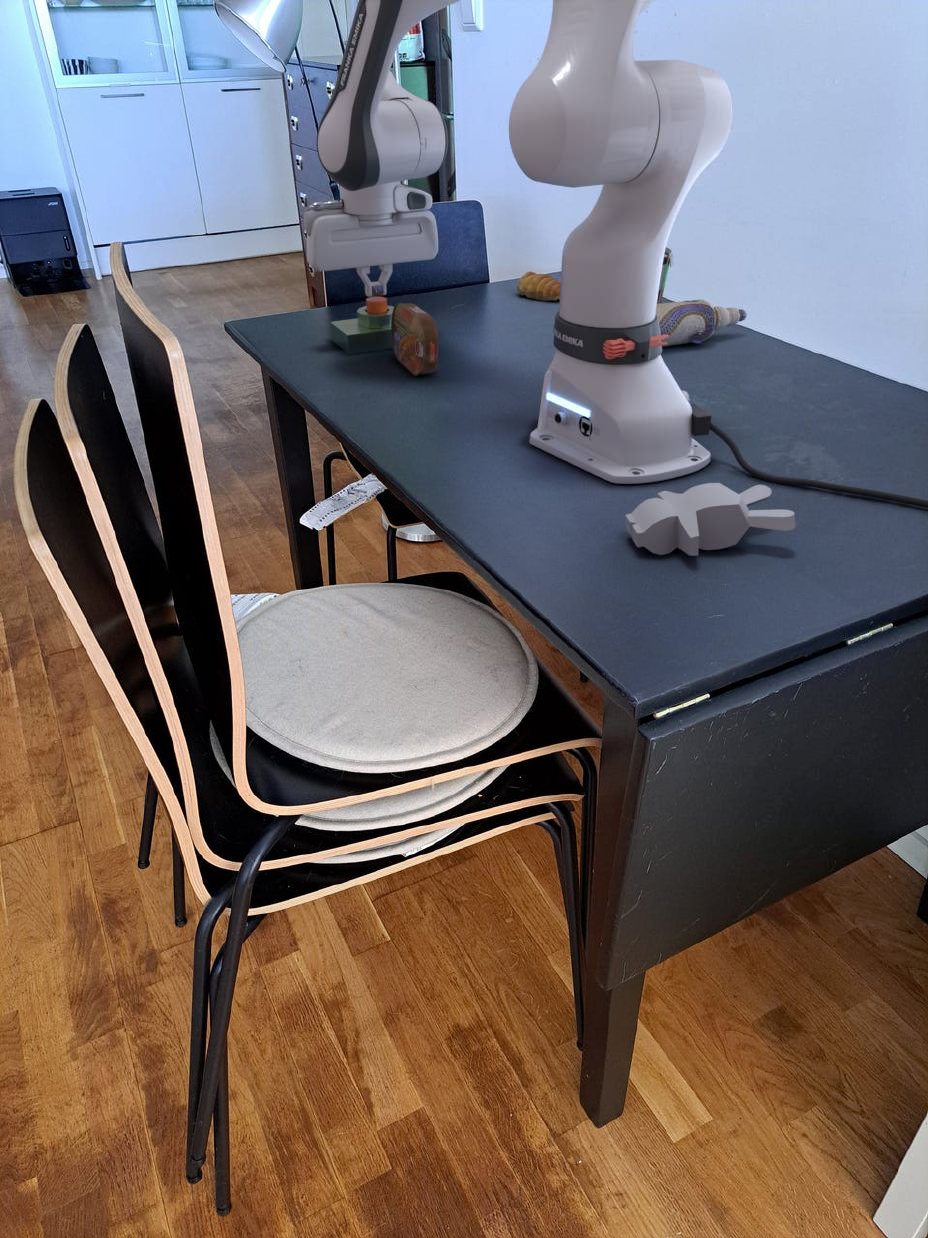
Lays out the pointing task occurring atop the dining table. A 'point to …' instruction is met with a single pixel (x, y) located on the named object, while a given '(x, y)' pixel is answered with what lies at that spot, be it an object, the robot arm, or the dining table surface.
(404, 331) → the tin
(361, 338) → the console
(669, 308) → the decorative bottle
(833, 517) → the dining table surface
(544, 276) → the pastry
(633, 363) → the robot arm
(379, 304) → the button
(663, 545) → the bunny figurine
